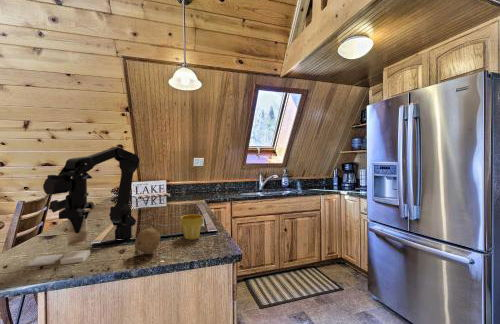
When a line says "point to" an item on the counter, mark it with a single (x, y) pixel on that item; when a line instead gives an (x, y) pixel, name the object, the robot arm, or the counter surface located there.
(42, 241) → the counter surface
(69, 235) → the tan upright block
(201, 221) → the plant pot
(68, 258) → the tile
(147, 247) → the natural sponge
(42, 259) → the rest mat
